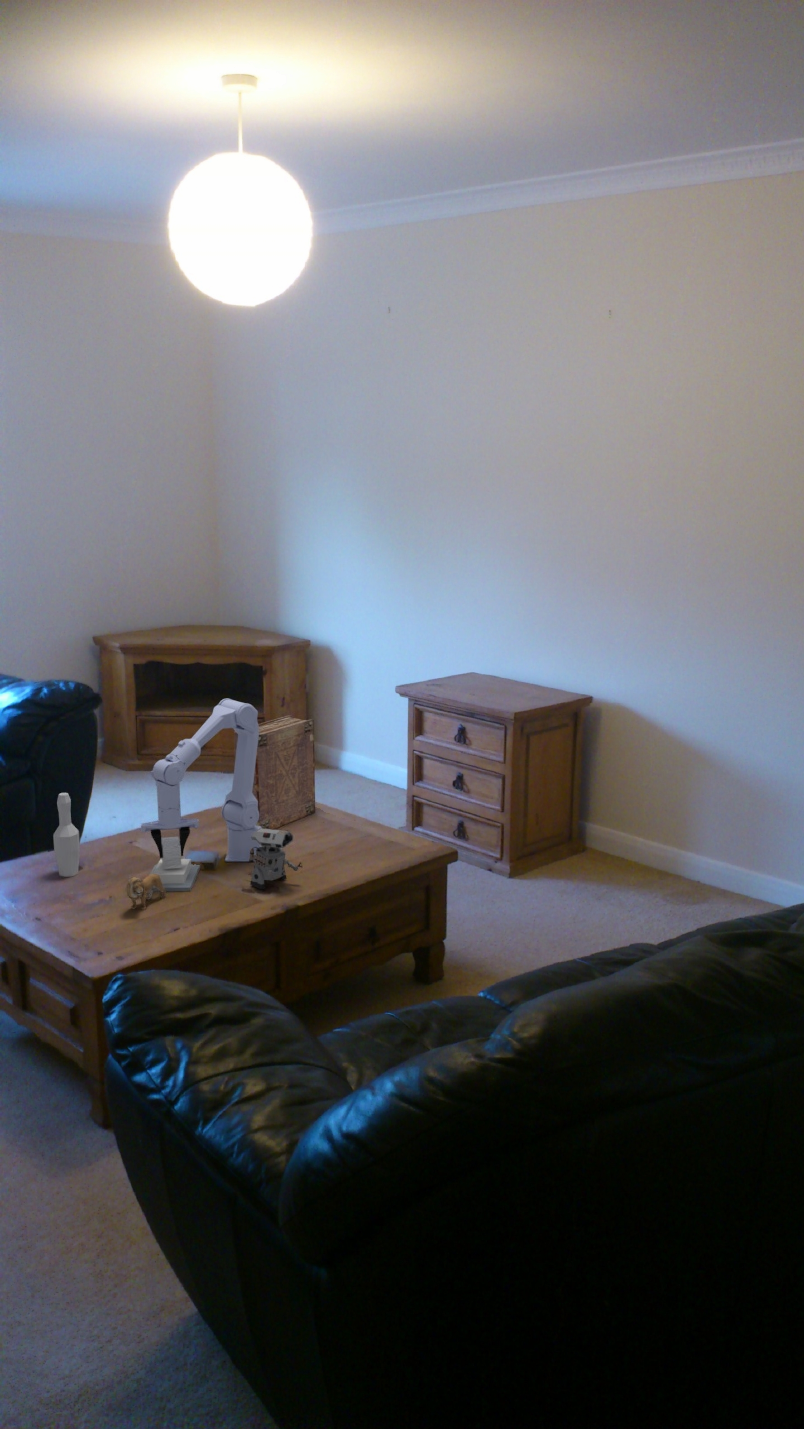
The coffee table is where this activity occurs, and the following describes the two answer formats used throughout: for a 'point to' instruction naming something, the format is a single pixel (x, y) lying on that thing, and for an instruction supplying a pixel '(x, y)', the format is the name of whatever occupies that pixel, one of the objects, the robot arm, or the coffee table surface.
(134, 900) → the lion figurine
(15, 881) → the coffee table surface
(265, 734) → the book
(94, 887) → the coffee table surface
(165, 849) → the block
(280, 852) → the figurine
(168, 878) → the display stand
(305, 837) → the coffee table surface
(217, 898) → the coffee table surface
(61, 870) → the faceted bottle
